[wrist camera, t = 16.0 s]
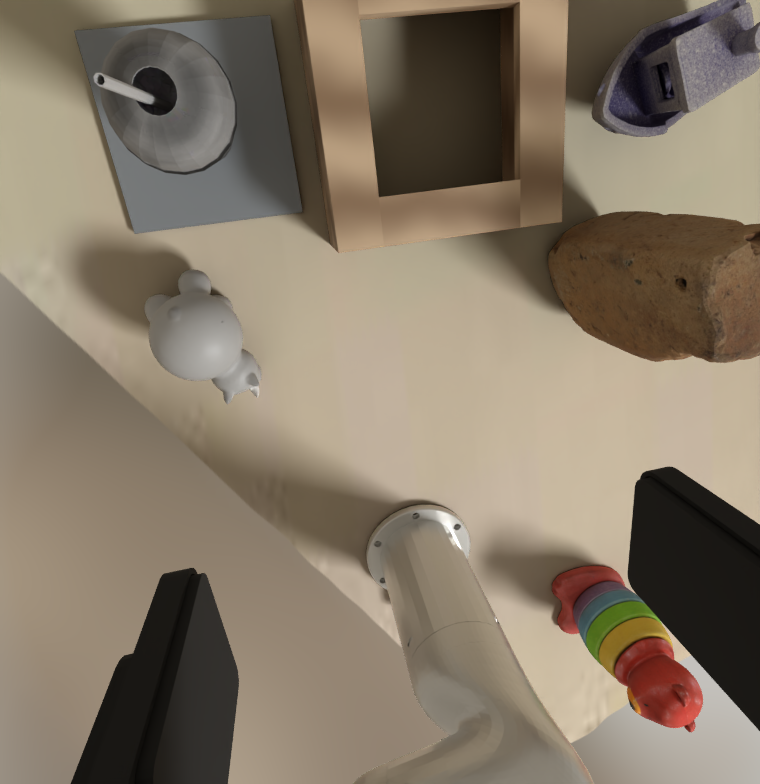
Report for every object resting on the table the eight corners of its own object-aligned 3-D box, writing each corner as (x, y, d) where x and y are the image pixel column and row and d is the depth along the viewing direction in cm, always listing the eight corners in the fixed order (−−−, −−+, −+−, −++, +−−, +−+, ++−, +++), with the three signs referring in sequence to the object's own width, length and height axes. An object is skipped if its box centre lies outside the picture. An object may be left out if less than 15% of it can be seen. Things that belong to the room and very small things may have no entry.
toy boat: (708, -12, 41) (863, -89, 29) (723, 85, 44) (869, 51, 32) (545, 80, 42) (630, 41, 31) (571, 167, 46) (657, 163, 34)
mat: (302, 212, 42) (302, 212, 42) (136, 233, 40) (134, 233, 40) (270, 17, 37) (269, 15, 36) (77, 33, 35) (74, 30, 35)
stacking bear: (548, 576, 64) (638, 705, 47) (619, 551, 64) (731, 670, 48) (558, 631, 68) (643, 767, 52) (624, 607, 68) (728, 734, 52)
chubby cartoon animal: (218, 382, 49) (227, 441, 43) (129, 297, 40) (125, 357, 35) (278, 346, 49) (295, 400, 43) (200, 253, 40) (208, 305, 34)
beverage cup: (267, 161, 40) (248, 127, 21) (185, 196, 40) (97, 191, 21) (224, 63, 37) (159, -75, 18) (136, 100, 37) (-17, -2, 18)
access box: (518, 218, 46) (561, 221, 38) (330, 244, 43) (338, 252, 36) (517, -18, 39) (570, -69, 31) (293, -1, 37) (295, -51, 29)
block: (537, 235, 47) (697, 256, 28) (607, 204, 47) (812, 205, 28) (561, 334, 51) (714, 408, 33) (625, 305, 51) (813, 363, 33)
